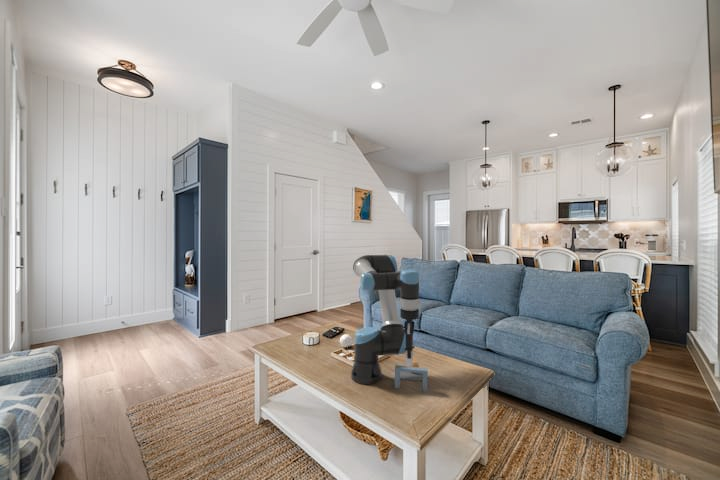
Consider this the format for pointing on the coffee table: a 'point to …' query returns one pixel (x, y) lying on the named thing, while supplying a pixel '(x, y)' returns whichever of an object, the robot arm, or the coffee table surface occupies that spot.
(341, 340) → the geometric ball
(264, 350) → the coffee table surface
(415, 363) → the ball
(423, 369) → the bridge
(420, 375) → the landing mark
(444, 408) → the coffee table surface
